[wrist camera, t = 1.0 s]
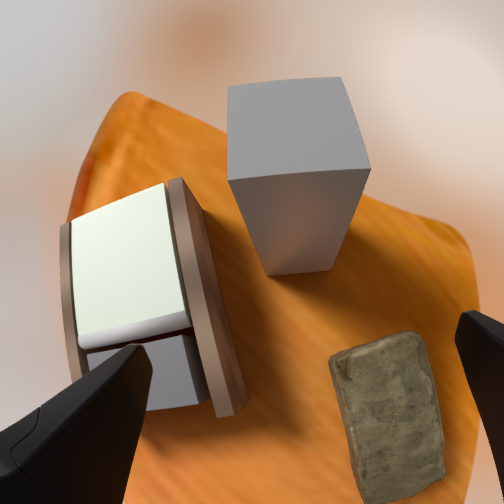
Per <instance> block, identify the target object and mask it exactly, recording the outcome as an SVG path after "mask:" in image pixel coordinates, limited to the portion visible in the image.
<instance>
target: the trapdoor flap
mask: <svg viewBox="0 0 504 504" xmlns="http://www.w3.org/2000/svg"><path fill="white" fill-rule="evenodd" d="M72 273H73V289H74V302H75V312H76V321H77V329H78V342H79V345H80V347H81V348H82V349H84V350H87V349H92V348H98V347H103V346H108V345H113V344H118V343H122V342H127V341H132V340H137V339H141V338H146V337H150V336H155V335H159V334H163V333H168V332H172V331H176V330H180V329H185V328H189V327H192V326H193V322H192V317H191V313H190V308H189V303H188V298H187V294H186V289H185V284H184V278H183V273H182V268H181V263H180V257H179V252H178V246H177V240H176V234H175V228H174V222H173V216H172V209H171V203H170V196H169V189H168V188H167V187H166V185H165V184H164V183H161V184H159V185H156V186H153V187H151V188H148V189H145V190H143V191H140V192H138V193H135V194H133V195H130V196H128V197H125V198H123V199H120V200H118V201H115V202H113V203H110V204H108V205H106V206H103V207H101V208H99V209H96V210H94V211H92V212H90V213H87V214H85V215H83V216H81V217H78V218H76V219H74V220H72ZM141 345H143V346H144V348H145V350H146V352H147V354H148V357H149V359H150V361H151V363H152V367H153V374H152V380H151V385H150V391H149V397H148V402H147V408H146V411H149V410H158V409H166V408H174V407H181V406H188V405H194V404H199V403H201V402H203V401H205V400H207V399H208V398H210V397H211V395H210V391H209V388H208V384H207V380H206V376H205V372H204V368H203V364H202V360H201V356H200V352H199V348H198V344H197V339H196V337H193V336H186V335H179V336H175V337H171V338H166V339H162V340H157V341H153V342H148V343H143V344H141ZM121 349H122V348H119V349H114V350H109V351H103V352H98V353H92V354H87V359H88V365H89V370H90V371H91V370H92V369H94V368H95V367H97V366H98V365H99V364H101V363H102V362H104V361H105V360H107V359H108V358H109V357H111V356H112V355H114V354H115V353H116V352H118V351H119V350H121Z"/></svg>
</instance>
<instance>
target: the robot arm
mask: <svg viewBox="0 0 504 504" xmlns="http://www.w3.org/2000/svg"><path fill="white" fill-rule="evenodd" d="M455 344H456V347H457V350H458V353H459V356H460V359H461V362H462V365H463V368H464V372H465V375H466V378H467V381H468V384H469V387H470V390H471V392H472V395H473V398H474V400H475V403H476V405H477V408H478V411H479V414H480V416H481V419H482V422H483V425H484V428H485V431H486V434H487V437H488V440H489V444H490V447H491V450H492V454H493V457H494V461H495V464H496V468H497V472H498V476H499V481H500V485H501V490H502V494H503V497H504V324H502V323H500V322H498V321H496V320H494V319H492V318H490V317H488V316H486V315H484V314H482V313H480V312H478V311H476V310H470V311H466V312H463V313H462V314H461V316H460V319H459V322H458V326H457V329H456V333H455ZM152 374H153V367H152V363H151V361H150V359H149V357H148V354H147V352H146V350H145V348H144V346H143V345H141V344H128V345H126V346H125V347H124V348H122V349H121V350H119V351H118V352H116V353H115V354H114V355H112V356H111V357H109V358H108V359H107V360H105V361H104V362H102V363H101V364H99V365H98V366H97V367H95V368H94V369H92V370H91V371H90V372H88V373H87V374H85V375H84V376H82V377H81V378H80V379H78V380H77V381H75V382H74V383H73V384H71V385H70V386H68V387H67V388H66V389H64V390H63V391H61V392H60V393H58V394H57V395H55V396H54V397H53V398H51V399H50V400H48V401H47V402H46V403H44V404H43V405H41V407H38V408H37V409H36V410H34V411H33V412H31V413H30V414H29V415H27V416H25V417H24V418H22V419H21V420H19V421H18V422H16V423H14V424H13V425H11V426H9V427H8V428H6V429H4V430H3V431H1V432H0V504H122V503H123V499H124V494H125V490H126V486H127V482H128V478H129V474H130V470H131V466H132V462H133V459H134V455H135V451H136V447H137V444H138V440H139V436H140V433H141V429H142V426H143V422H144V418H145V414H146V408H147V402H148V397H149V391H150V385H151V380H152ZM503 500H504V498H503Z"/></svg>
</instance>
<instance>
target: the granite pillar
mask: <svg viewBox="0 0 504 504" xmlns="http://www.w3.org/2000/svg"><path fill="white" fill-rule="evenodd" d="M227 97H228V99H227V101H228V102H227V104H228V106H227V107H228V109H227V166H228V182H229V185H230V187H231V190H232V192H233V195H234V197H235V199H236V202H237V204H238V207H239V209H240V212H241V214H242V217H243V219H244V222H245V224H246V226H247V229H248V231H249V234H250V236H251V239H252V241H253V244H254V246H255V249H256V251H257V253H258V256H259V258H260V261H261V263H262V266H263V268H264V271H265V273H266V276H271V275H283V274H295V273H307V272H318V271H328V270H331V268H332V266H333V264H334V261H335V259H336V257H337V254H338V252H339V250H340V247H341V245H342V243H343V240H344V238H345V235H346V233H347V230H348V228H349V226H350V223H351V221H352V218H353V216H354V213H355V210H356V208H357V205H358V203H359V200H360V197H361V195H362V192H363V189H364V187H365V184H366V181H367V179H368V176H369V173H370V170H371V166H370V162H369V159H368V155H367V152H366V148H365V145H364V142H363V139H362V135H361V132H360V129H359V126H358V123H357V120H356V117H355V114H354V112H353V109H352V106H351V103H350V100H349V97H348V95H347V92H346V90H345V87H344V84H343V82H342V79H341V77H333V78H306V79H291V80H279V81H270V82H260V83H252V84H245V85H237V86H231V87H228V96H227Z"/></svg>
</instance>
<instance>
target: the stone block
mask: <svg viewBox="0 0 504 504" xmlns="http://www.w3.org/2000/svg"><path fill="white" fill-rule="evenodd" d="M328 364H329V368H330V372H331V376H332V380H333V384H334V388H335V392H336V396H337V400H338V404H339V408H340V412H341V416H342V420H343V424H344V428H345V432H346V436H347V441H348V446H349V452H350V461H351V466H352V470H353V474H354V477H355V480H356V484H357V487H358V490H359V492H360V494H361V497H362V499H363V502H364V504H387V503H391V502H394V501H396V500H399V499H403V498H407V497H412V496H413V495H415V494H417V493H419V492H420V491H422V490H424V489H426V488H427V487H428V486H430V485H431V484H432V483H434V482H436V481H439V480H443V479H444V477H445V475H446V468H445V463H444V456H443V453H444V448H445V442H444V436H443V430H442V422H441V414H440V407H439V401H438V396H437V390H436V385H435V381H434V376H433V372H432V369H431V366H430V362H429V358H428V353H427V349H426V344H425V341H424V339H423V338H422V337H421V336H420V335H419V334H418V332H414V331H401V332H399V333H396V334H391V335H388V336H385V337H382V338H380V339H378V340H376V341H373V342H370V343H367V344H363V345H359V346H356V347H353V348H350V349H347V350H344V351H340V352H338V353H336V354H334V355H332V356H330V359H329V361H328Z"/></svg>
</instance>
